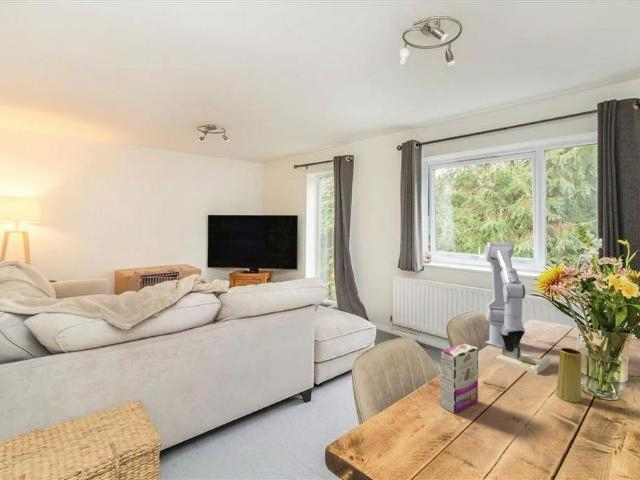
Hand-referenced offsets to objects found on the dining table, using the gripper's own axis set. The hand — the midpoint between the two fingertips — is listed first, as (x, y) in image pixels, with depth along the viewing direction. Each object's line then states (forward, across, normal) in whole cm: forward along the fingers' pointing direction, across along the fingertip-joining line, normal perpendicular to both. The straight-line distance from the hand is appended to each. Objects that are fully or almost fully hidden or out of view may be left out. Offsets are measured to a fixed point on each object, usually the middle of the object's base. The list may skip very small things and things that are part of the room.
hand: (511, 349), depth 129 cm
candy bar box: (+4, -46, -5) cm, 46 cm away
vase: (+4, -16, -23) cm, 28 cm away
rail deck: (+4, 0, -4) cm, 5 cm away
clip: (+2, 0, 0) cm, 2 cm away
